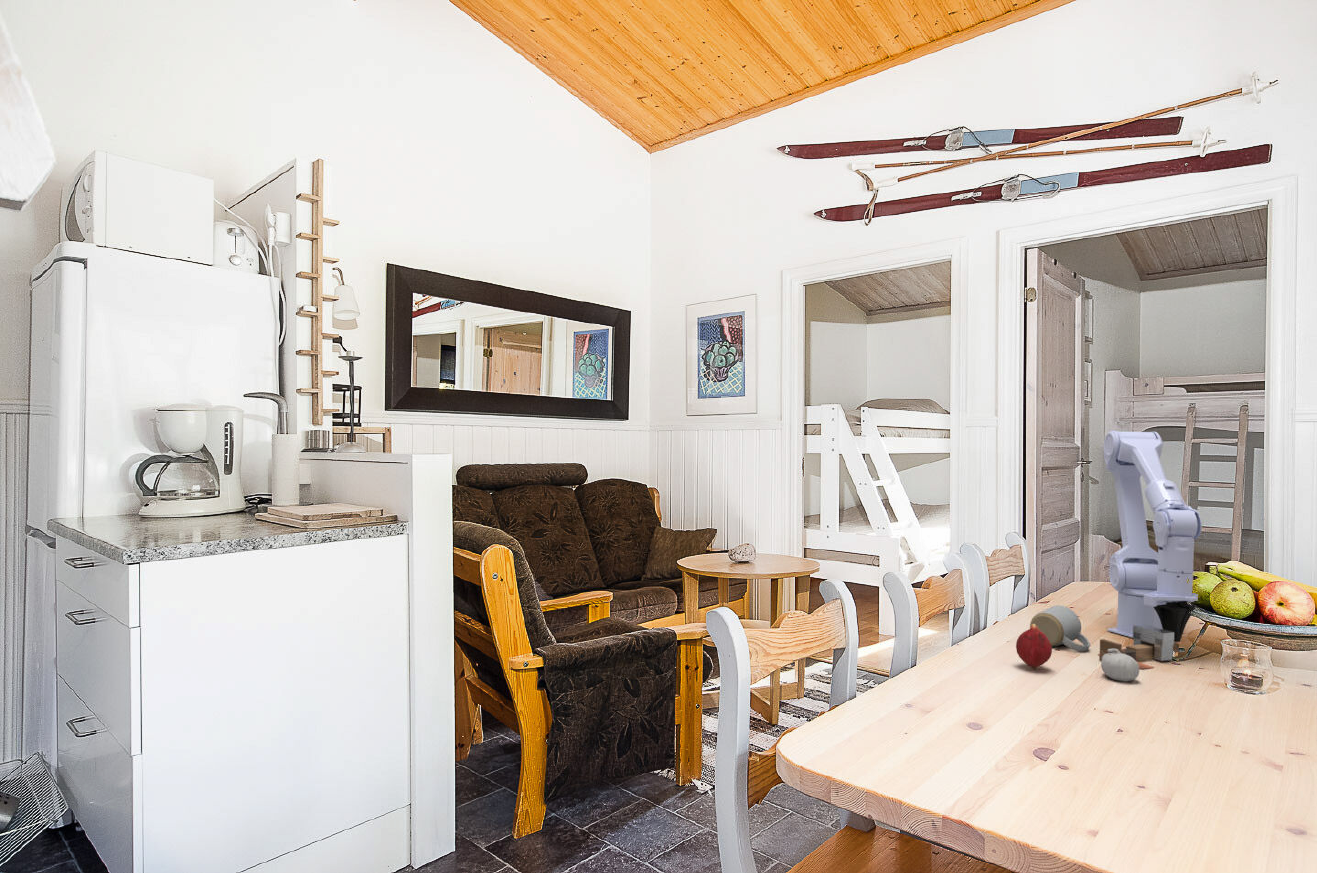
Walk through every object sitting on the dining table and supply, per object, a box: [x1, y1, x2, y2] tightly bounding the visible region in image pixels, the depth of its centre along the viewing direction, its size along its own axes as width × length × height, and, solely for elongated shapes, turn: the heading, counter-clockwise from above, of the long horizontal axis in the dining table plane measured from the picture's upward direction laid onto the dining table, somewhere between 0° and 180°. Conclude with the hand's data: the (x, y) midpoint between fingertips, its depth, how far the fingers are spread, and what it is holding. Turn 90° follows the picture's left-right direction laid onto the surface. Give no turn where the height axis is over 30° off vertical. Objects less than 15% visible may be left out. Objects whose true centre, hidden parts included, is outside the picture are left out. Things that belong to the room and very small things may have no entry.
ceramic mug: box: [1029, 604, 1091, 653], centre depth 153 cm, size 10×8×7 cm
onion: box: [1015, 624, 1053, 670], centre depth 137 cm, size 6×6×8 cm
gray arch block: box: [1132, 624, 1175, 662], centre depth 146 cm, size 3×6×5 cm, turn 22°
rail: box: [1097, 638, 1180, 670], centre depth 145 cm, size 18×9×4 cm, turn 112°
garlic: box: [1100, 649, 1140, 682], centre depth 133 cm, size 6×5×5 cm
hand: (1172, 640), depth 148 cm, fingers closed
